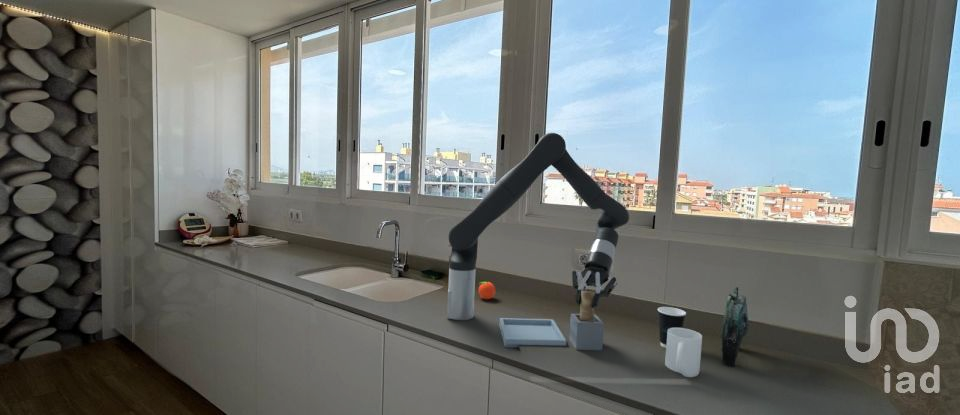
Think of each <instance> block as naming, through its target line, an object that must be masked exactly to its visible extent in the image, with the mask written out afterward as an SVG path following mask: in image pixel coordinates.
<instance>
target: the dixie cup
mask: <svg viewBox="0 0 960 415" xmlns="http://www.w3.org/2000/svg"><path fill="white" fill-rule="evenodd" d="M657 312H658V326H659V331H658V332H659V343H660V346H661V347H662V348H665V349H666V344H667V331H668V329H669V328H684V327H683V326H684V322H685V317H686V315H687V312H686V311H685V310H682V309H680V308H676V307H670V306H660V307H658V308H657Z"/></svg>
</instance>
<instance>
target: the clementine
mask: <svg viewBox="0 0 960 415" xmlns="http://www.w3.org/2000/svg"><path fill="white" fill-rule="evenodd" d="M478 285H479V287H478V290H477V291H478V294H479V296H480V297H481V299H484V300H490V299H492V298H494V296H495V295H496V286H495V285H494V284H493V282H491V281H480V282H478Z"/></svg>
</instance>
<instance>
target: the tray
mask: <svg viewBox="0 0 960 415" xmlns="http://www.w3.org/2000/svg"><path fill="white" fill-rule="evenodd" d="M498 323H499V325H498V327H499V329H500V334H501V338H502V342H503V345H504V348H513V349H514V348H516V349H520V345H522V346H526V345H527V346H533V345H534V346H559V347H561V346H562V347H563V346H565V347H566V346H567V340H566V338H565V336H564V335H563V333H562V331H561V330H560V329H559V327H558V325H557V323H556V321H555V320H554V319H553V318H552V319H551V318H550V319H549V318H514V317H513V318H510V317H499V322H498Z"/></svg>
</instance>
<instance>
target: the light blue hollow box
mask: <svg viewBox="0 0 960 415" xmlns="http://www.w3.org/2000/svg"><path fill="white" fill-rule="evenodd" d="M569 323H570V324H569V336H568V340H569V341H570V343H571V344H572V346H573V347H574V349H575V350H576V351H603V345H604V344H603V342H604V328H605V323H604V321H603V320H602V319H600V317H599V316H598V314H595V313H594V322H589V321H580V313H570V321H569Z"/></svg>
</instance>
